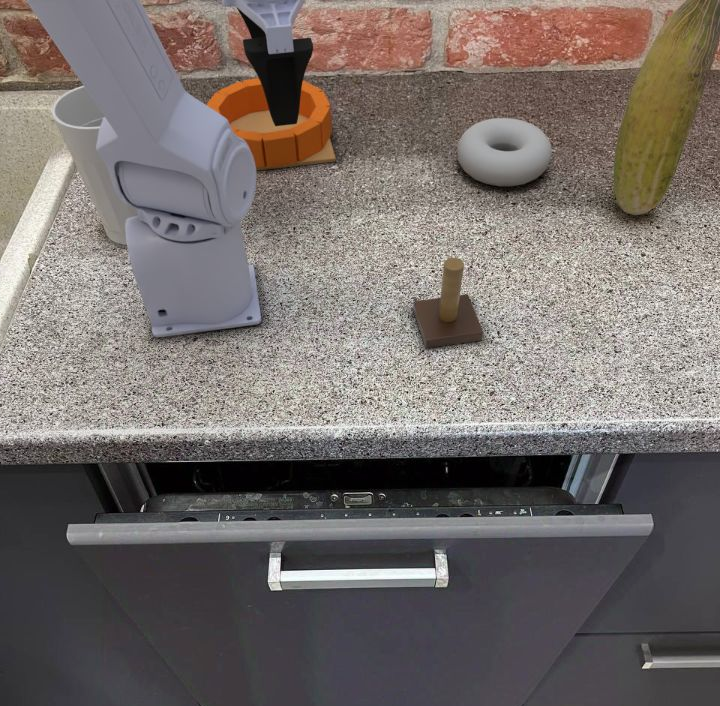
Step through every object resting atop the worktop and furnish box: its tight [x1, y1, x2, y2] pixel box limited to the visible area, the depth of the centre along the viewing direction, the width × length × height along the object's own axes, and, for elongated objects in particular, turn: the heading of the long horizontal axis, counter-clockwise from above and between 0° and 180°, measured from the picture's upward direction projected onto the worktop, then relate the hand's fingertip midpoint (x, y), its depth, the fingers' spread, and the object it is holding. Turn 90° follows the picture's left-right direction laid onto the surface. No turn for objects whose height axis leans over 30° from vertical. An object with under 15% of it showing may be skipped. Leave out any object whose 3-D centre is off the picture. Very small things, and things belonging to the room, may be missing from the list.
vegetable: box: [613, 0, 720, 216], centre depth 62 cm, size 6×6×20 cm
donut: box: [456, 117, 553, 187], centre depth 73 cm, size 10×3×10 cm
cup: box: [51, 85, 138, 246], centre depth 64 cm, size 8×8×12 cm
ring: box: [205, 77, 333, 168], centre depth 77 cm, size 14×14×3 cm
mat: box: [230, 110, 337, 171], centre depth 78 cm, size 13×13×1 cm
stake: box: [412, 257, 484, 349], centre depth 58 cm, size 5×5×6 cm
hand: (280, 102), depth 64 cm, fingers open, 7 cm apart
